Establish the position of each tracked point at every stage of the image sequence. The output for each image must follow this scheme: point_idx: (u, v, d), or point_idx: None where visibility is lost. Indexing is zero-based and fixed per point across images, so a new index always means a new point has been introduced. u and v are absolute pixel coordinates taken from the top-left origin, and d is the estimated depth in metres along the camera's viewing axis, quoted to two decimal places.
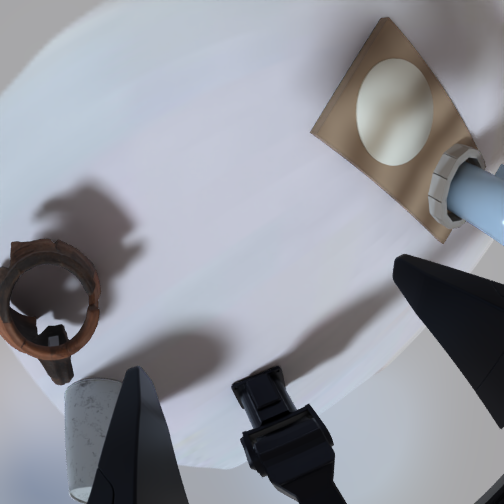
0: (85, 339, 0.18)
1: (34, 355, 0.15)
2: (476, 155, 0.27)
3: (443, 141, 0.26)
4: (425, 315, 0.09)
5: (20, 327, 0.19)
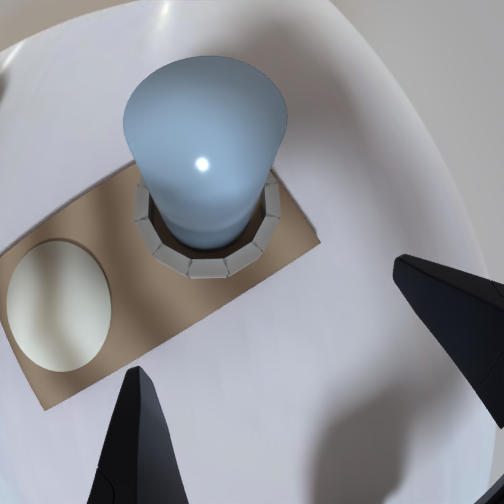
0: None
1: None
2: None
3: (123, 226, 0.21)
4: (425, 315, 0.09)
5: None
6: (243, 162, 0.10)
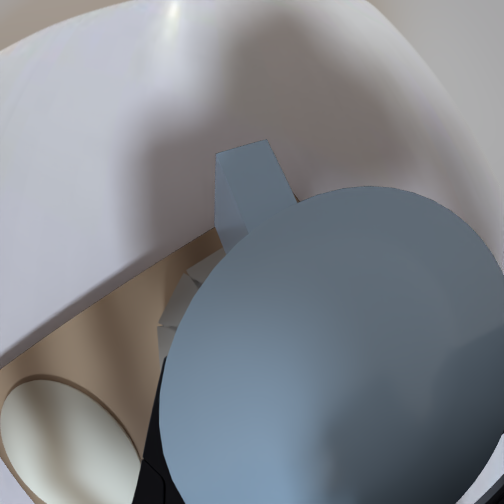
0: None
1: None
2: (191, 289, 0.13)
3: (142, 370, 0.14)
4: None
5: None
6: (449, 497, 0.03)
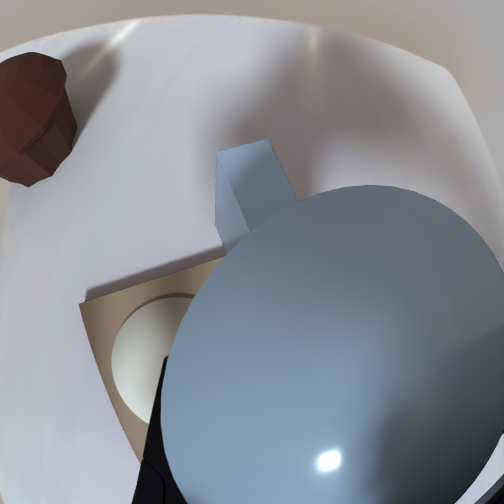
0: None
1: None
2: None
3: None
4: None
5: None
6: (449, 495, 0.03)
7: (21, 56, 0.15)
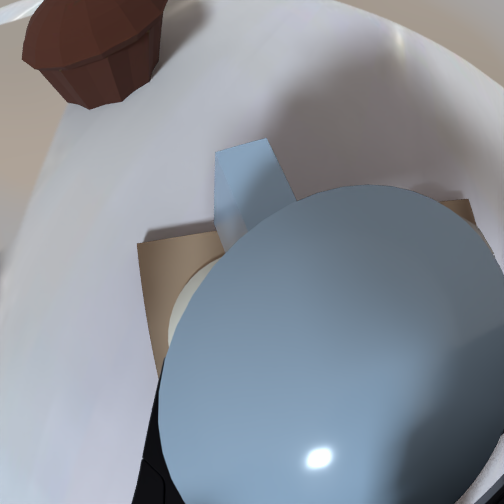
0: None
1: None
2: None
3: None
4: None
5: None
6: (448, 496, 0.03)
7: None
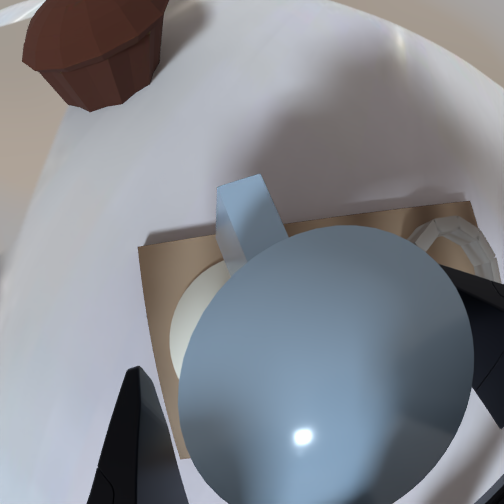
0: None
1: None
2: (435, 231, 0.18)
3: None
4: None
5: None
6: (411, 477, 0.05)
7: None
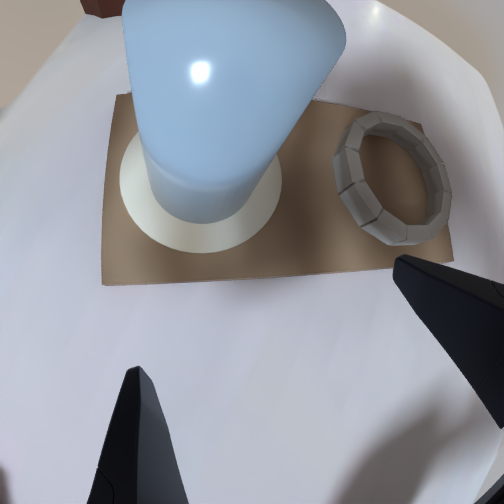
0: None
1: None
2: (376, 119, 0.20)
3: (316, 146, 0.20)
4: (425, 315, 0.09)
5: None
6: (290, 64, 0.06)
7: None
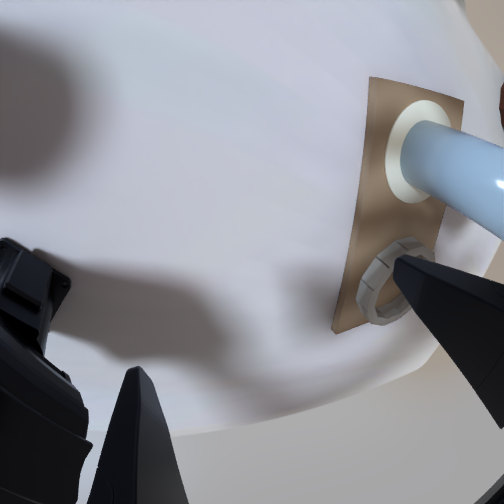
0: None
1: None
2: None
3: (419, 226, 0.29)
4: (425, 315, 0.09)
5: None
6: None
7: None
